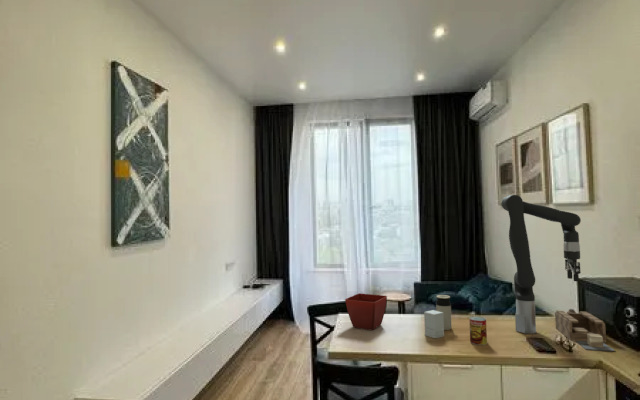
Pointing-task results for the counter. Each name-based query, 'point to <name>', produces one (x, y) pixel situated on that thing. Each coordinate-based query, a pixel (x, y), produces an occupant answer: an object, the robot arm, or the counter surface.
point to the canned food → (478, 330)
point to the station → (581, 328)
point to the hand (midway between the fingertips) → (573, 279)
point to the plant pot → (366, 310)
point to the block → (595, 340)
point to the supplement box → (434, 324)
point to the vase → (571, 311)
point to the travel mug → (444, 309)
